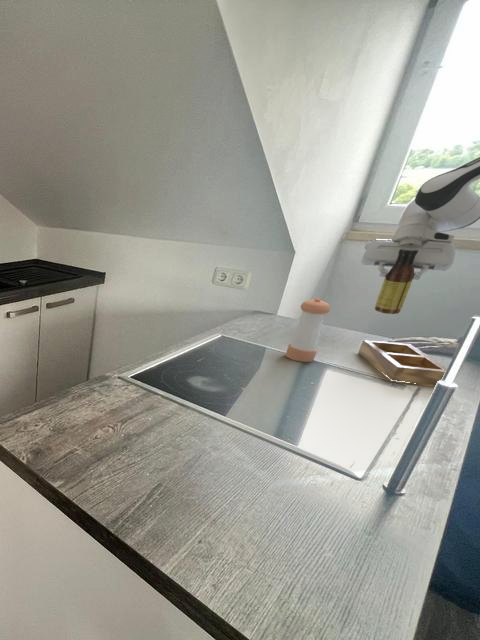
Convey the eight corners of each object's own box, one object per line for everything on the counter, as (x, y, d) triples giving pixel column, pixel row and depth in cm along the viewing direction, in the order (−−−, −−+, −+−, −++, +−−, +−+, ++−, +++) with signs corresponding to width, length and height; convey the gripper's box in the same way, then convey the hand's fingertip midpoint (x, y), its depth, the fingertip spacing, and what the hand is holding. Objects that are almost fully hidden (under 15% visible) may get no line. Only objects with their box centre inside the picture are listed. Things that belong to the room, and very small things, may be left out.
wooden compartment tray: (404, 357, 121) (410, 343, 119) (446, 388, 102) (454, 372, 100) (358, 353, 124) (363, 339, 123) (391, 382, 106) (397, 366, 104)
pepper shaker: (300, 352, 126) (318, 294, 118) (319, 361, 120) (340, 300, 112) (279, 353, 125) (296, 295, 118) (298, 362, 119) (317, 302, 111)
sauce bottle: (388, 309, 128) (413, 247, 120) (405, 314, 122) (432, 250, 114) (367, 309, 129) (390, 247, 120) (382, 314, 123) (407, 250, 115)
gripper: (370, 232, 127) (357, 267, 125) (462, 236, 114) (450, 274, 112) (366, 245, 132) (353, 278, 129) (454, 249, 119) (442, 287, 116)
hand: (399, 277), depth 120 cm, fingers closed on sauce bottle, 6 cm apart
